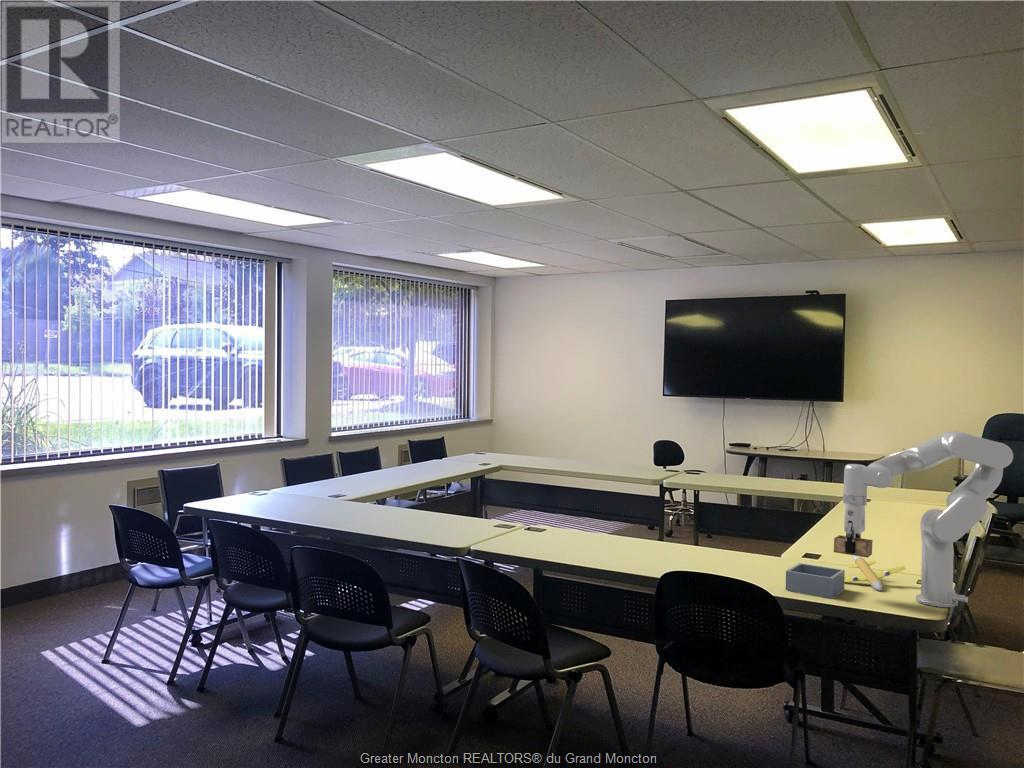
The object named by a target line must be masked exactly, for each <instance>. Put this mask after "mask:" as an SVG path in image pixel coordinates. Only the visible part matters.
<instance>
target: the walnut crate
mask: <svg viewBox="0 0 1024 768" xmlns="http://www.w3.org/2000/svg"><path fill="white" fill-rule="evenodd" d="M833 540H834V541H833V553H836V554H843V555H849V556H852V555H854V556H860V557H862V558H869V557H870V556H872V555H873V539H869V538H868V539H867V538H863V537H861V538H855V542H856V547H855V553H854V554H853V553H846V552H845V541H846V535H841V534H839V535H837V536H835V537H834V538H833Z"/></svg>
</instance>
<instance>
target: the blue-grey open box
mask: <svg viewBox="0 0 1024 768" xmlns="http://www.w3.org/2000/svg"><path fill="white" fill-rule="evenodd" d="M845 572H846V571H845V569H840V568H833V567H828V566H826V567H825V566H822V565H815V564H814V565H813V564H807V563H801V562H799V563H797V564H795V565H794V566H792V567H789V569H786V570H785V591H786V590H788V591H787V592H792V591H794V592H793V593H797V592H799V593H798V594H803V595H809V596H815V597H820V598H821V597H822V598H826V599H834V598H836V597H837V596H838V595H839V594H840V593H841V591H842V590H843V589H844V590H845V582H844V578H845V577H846V576H845V574H846V573H845ZM844 590H843V591H844ZM843 591H842V592H843ZM838 593H839V594H838ZM837 594H838V595H837Z"/></svg>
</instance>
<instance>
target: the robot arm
mask: <svg viewBox="0 0 1024 768" xmlns="http://www.w3.org/2000/svg"><path fill="white" fill-rule="evenodd" d="M953 458H954V459H955V458H958V459H962V460H965V461H967V462H971V463H975V464H974V465H975V466H974V468H973V471H972V472H971V473H970V474H969V475H968V476H967V477H966V478H965V479H964V480H963V481H962V482H961V483H960V484H958V486H956V487H955V488H954V489H953V490H952V491H951V492H950V493H948V495H947V497H946V500H945V501H946V505H947V508H946V509H945V510H944V509H943V510H942V509H939V508H932V509H929V510H926V511H925V512H924V513H923V514H922V517H921V519H920V524H919V525H920V536H921V539H920V540H921V563H920V564H921V566H920V567H921V569H920V572H921V576H920V578H921V579H920V594H917V595H916V596H915V600H916V601H917V602H918V603H921V604H922V605H927V606H931V607H936V606H937V608H954V607H955V608H956V607H957V606H959V602H961V603H966V604H967V603H968V598H969V597H968V596H965V595H964V594H958V593H956V589H954V556H955V555H954V553H955V552H954V542H957V541H958V540H959V539H961V538H962V537H963V536H964V535H965V534H967V533H968V532H969V531H970V530H971V529H973V528H974V526H976V525H977V524H978V523H980V521H981V520H982V519H983V518H984V517H985V515H986V513H987V511H988V502H987V500H986V499H988V498H989V496H991V494H993V493H994V491H995V490H997V488H998V487H999V486H1000V484H1001V482H1002V479H1003V473H1004V468H1006V467H1008V466H1010V465H1011V464H1012V462H1013V460H1014V453H1013V450H1012V449H1011V448H1010V446H1008V444H1005V443H1003V442H998V441H996V440H995V441H994V440H991V439H987V438H983V437H979V436H976V435H972V434H969V433H966V432H964V431H963V432H962V431H958V430H948V431H947V432H944V433H941V434H939V435H938V436H935V437H933V438H931V439H929V440H926V441H924V442H921V443H919V444H917V445H914V446H912V447H909V448H906V449H904V450H902V451H899V452H895V453H892V454H890V455H887V456H884V457H883V458H881V459H878V460H876V461H873V462H872V463H870V464H869V465H868V466H866V465H864V464H858V463H848V464H846V465H845V466H844V471H843V493H842V496H843V497H842V504H844V505H845V507H844V508H845V509H844V520H843V521H844V522H843V525H844V527H843V528H844V529H843V531H844V532H845V536H846V541H845V552H846V553H853V554H854V553H855V547H856V542H855V538H862V534H861V533H863V532H865V531H866V507H865V506H867V505H868V504H867V502H868V501H867V499H868V487H873V488H878V489H884V488H889V487H890V486H891V485H892V484H893V483H894V481H895V477H897V476H899V475H903V474H906V473H911V472H912V473H913V472H921V471H925V470H929V469H931V468H933V467H935V466H937V465H939V464H942V463H944V462H946V461H948V460H951V459H953Z"/></svg>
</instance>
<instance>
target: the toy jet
mask: <svg viewBox="0 0 1024 768" xmlns="http://www.w3.org/2000/svg"><path fill="white" fill-rule="evenodd" d="M851 556H852V559H853V561H854V563H852V564H849V565H847V567H848V569H854V568H855V569H859V570H860V572H861V574H857V575H856V574H855V575H851V576H845V578H844V583H852V582H853V583H855V582H865V581H867V582H868V583H869V584H870V586H871V588H873V590H875V589H876V590H875V591H878V592H881V591H882V590H883V583H882V582H881V580H880V579H881V578H885V577H889V576H890V575H893V574H896V573H899V572H902V571H905V570H907V568H906V567H905V565H900V566H895V567H892V568H887V569H884V570H878V571H873V569H872V568H871V567H870V566H872V565H874V564H876V563H877V562H876V560H869V561H866V560H865V559H864V557H860V556H854V555H851Z"/></svg>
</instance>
